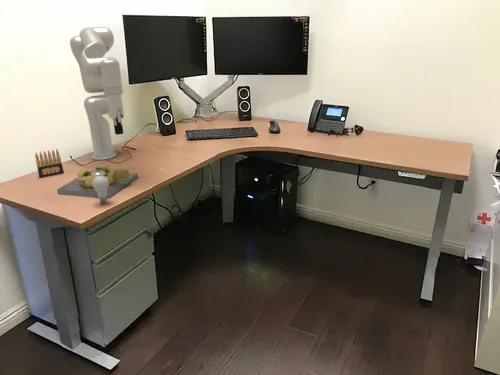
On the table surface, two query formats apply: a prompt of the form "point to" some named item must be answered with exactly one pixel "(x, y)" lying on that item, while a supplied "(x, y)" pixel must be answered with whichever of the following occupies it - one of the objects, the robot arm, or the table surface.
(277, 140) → the table surface
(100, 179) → the lightbulb
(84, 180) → the ring nut
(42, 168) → the ammunition clip
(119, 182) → the housing
